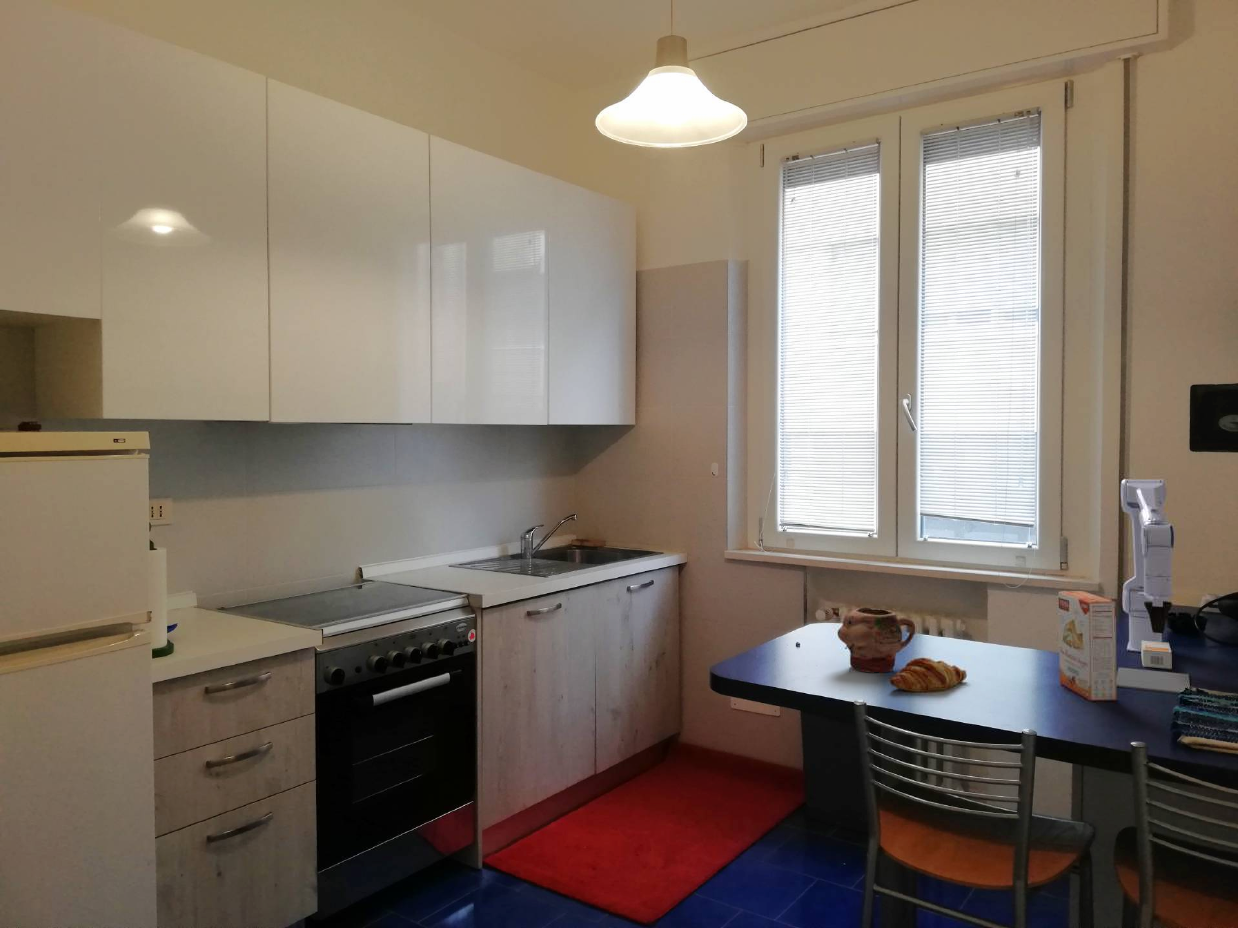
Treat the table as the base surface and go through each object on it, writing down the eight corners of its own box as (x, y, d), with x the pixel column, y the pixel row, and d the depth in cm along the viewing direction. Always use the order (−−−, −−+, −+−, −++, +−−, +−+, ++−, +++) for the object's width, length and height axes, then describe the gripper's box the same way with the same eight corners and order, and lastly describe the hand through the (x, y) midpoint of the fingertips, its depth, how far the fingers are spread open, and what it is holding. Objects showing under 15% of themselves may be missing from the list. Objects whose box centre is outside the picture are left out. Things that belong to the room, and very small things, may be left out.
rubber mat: (1118, 669, 214) (1118, 667, 214) (1188, 675, 207) (1188, 674, 207) (1114, 686, 199) (1115, 684, 199) (1190, 694, 191) (1190, 692, 191)
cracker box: (1057, 684, 201) (1057, 590, 201) (1085, 683, 201) (1084, 590, 201) (1088, 701, 187) (1087, 600, 187) (1117, 701, 187) (1117, 600, 187)
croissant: (955, 693, 208) (943, 659, 211) (986, 681, 200) (973, 646, 203) (883, 703, 199) (872, 668, 202) (913, 691, 191) (900, 654, 194)
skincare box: (1142, 648, 216) (1140, 639, 226) (1142, 666, 216) (1140, 656, 226) (1172, 651, 213) (1169, 641, 223) (1172, 669, 213) (1169, 659, 224)
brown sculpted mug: (898, 659, 227) (897, 603, 227) (928, 669, 216) (928, 611, 216) (827, 665, 221) (827, 609, 221) (855, 677, 210) (854, 617, 209)
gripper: (1139, 570, 222) (1139, 625, 223) (1137, 578, 210) (1137, 636, 210) (1172, 572, 219) (1173, 628, 219) (1173, 579, 206) (1173, 639, 207)
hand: (1158, 632), depth 214 cm, fingers closed
